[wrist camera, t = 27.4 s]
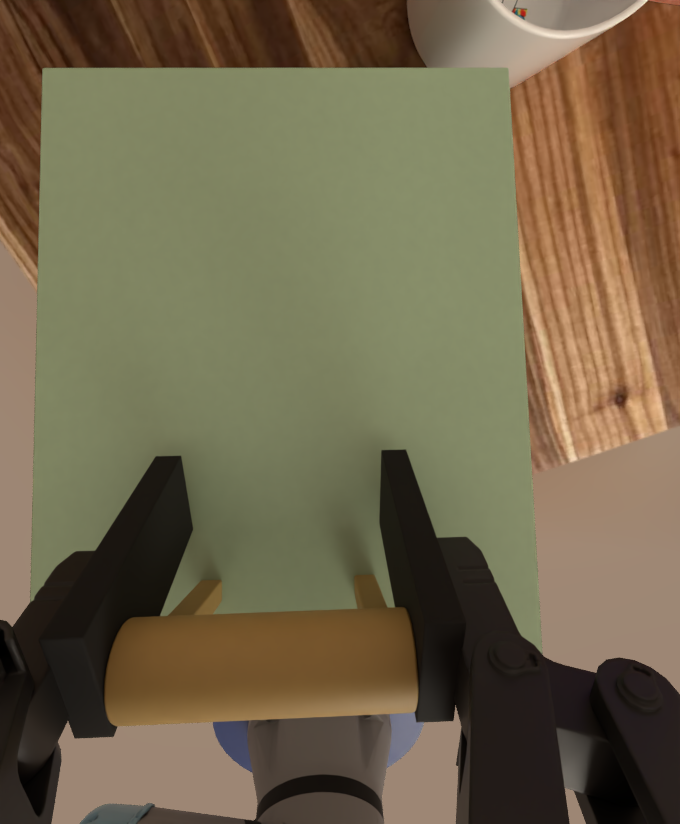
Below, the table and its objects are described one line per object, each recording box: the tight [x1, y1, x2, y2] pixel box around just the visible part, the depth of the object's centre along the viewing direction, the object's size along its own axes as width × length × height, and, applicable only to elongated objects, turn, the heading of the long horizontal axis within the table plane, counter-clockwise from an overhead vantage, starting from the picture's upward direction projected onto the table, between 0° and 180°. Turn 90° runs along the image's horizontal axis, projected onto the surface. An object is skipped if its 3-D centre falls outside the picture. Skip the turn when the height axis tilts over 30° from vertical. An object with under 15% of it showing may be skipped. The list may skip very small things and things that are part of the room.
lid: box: [30, 68, 542, 726], centre depth 13 cm, size 21×17×7 cm
